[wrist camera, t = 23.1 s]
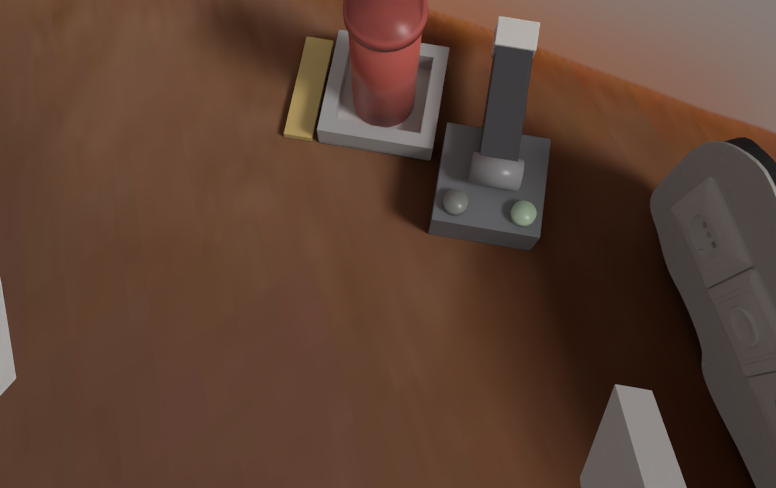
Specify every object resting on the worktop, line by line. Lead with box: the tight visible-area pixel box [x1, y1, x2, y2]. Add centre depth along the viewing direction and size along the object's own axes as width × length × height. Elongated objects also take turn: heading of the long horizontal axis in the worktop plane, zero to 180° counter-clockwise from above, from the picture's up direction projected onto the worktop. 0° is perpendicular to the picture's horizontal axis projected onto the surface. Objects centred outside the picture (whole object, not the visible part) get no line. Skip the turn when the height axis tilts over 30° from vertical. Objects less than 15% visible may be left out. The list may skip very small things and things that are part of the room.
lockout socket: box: [284, 30, 450, 161], centre depth 49 cm, size 10×8×2 cm
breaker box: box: [428, 122, 551, 251], centre depth 46 cm, size 7×7×4 cm
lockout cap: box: [343, 0, 428, 128], centre depth 44 cm, size 5×5×11 cm
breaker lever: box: [468, 16, 540, 191], centre depth 45 cm, size 3×2×11 cm
